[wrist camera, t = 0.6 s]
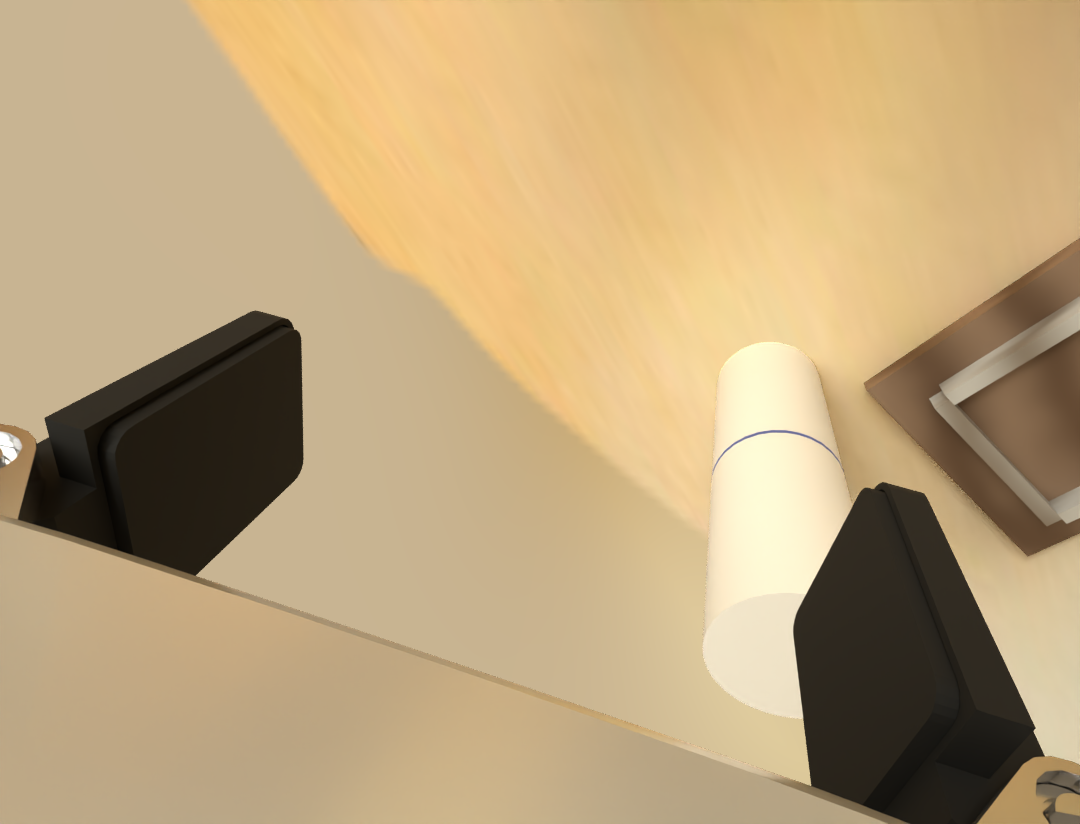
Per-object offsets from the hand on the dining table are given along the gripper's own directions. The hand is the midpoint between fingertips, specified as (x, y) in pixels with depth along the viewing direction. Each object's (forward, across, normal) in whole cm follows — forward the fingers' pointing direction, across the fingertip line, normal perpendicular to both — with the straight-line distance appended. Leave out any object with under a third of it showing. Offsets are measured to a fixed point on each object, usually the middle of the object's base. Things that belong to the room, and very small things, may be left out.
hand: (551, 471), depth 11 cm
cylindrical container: (+37, -10, +13) cm, 40 cm away
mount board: (+36, -28, +8) cm, 47 cm away
